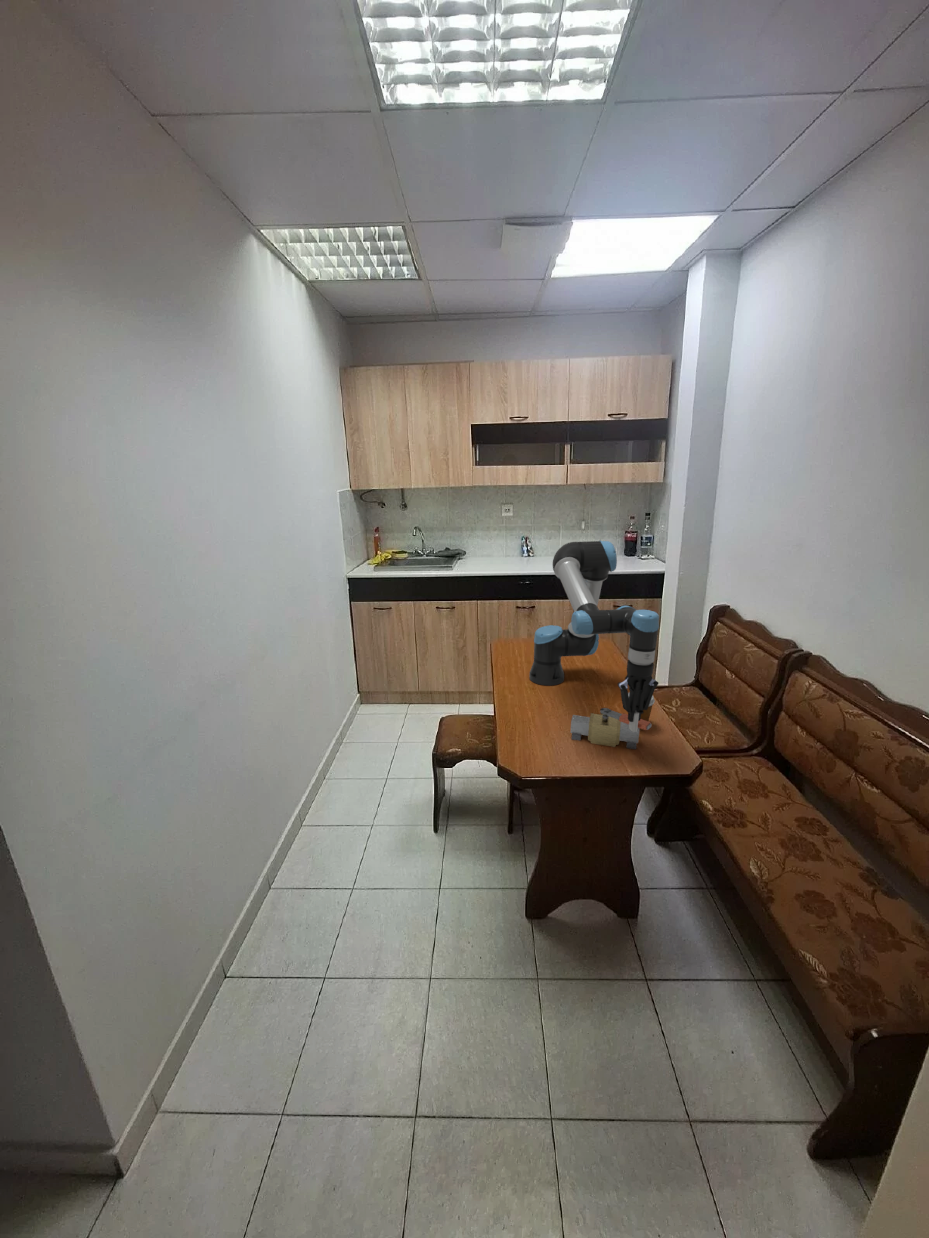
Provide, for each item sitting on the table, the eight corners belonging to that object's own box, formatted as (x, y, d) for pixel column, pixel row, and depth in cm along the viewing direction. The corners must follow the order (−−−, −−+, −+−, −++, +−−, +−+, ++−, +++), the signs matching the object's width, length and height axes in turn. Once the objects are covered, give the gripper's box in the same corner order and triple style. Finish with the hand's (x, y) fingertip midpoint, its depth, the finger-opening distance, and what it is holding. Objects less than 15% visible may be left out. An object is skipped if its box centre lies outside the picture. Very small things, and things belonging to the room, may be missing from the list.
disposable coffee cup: (648, 735, 168) (651, 704, 164) (620, 728, 173) (623, 697, 169) (654, 723, 176) (657, 693, 172) (627, 716, 181) (630, 687, 177)
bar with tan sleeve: (569, 739, 166) (571, 714, 163) (572, 729, 173) (573, 705, 170) (637, 750, 159) (640, 724, 156) (637, 739, 166) (640, 714, 163)
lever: (598, 714, 163) (598, 710, 162) (603, 710, 165) (603, 706, 165) (647, 731, 152) (647, 726, 152) (651, 726, 155) (652, 722, 154)
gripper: (628, 667, 142) (620, 738, 149) (667, 663, 145) (657, 733, 152) (615, 658, 149) (608, 726, 156) (652, 654, 152) (644, 721, 159)
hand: (632, 729), depth 154 cm, fingers closed
